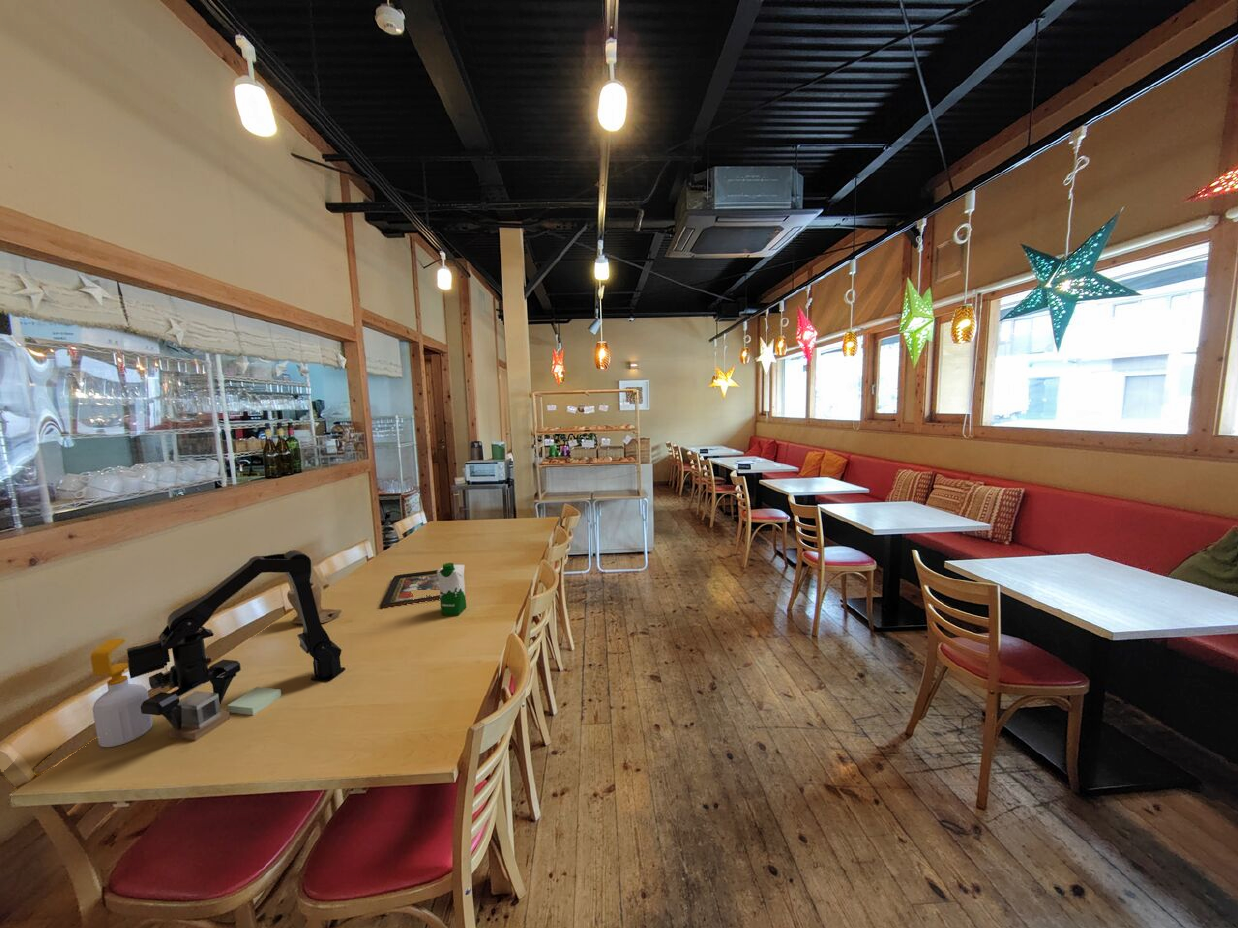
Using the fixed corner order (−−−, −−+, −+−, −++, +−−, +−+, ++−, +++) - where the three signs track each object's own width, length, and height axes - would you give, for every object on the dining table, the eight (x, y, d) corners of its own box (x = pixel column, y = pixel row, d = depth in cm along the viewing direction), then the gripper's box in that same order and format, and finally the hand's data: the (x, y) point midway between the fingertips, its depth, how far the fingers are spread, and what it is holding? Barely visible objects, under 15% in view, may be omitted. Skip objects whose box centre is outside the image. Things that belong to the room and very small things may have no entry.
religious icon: (384, 581, 211) (384, 575, 211) (462, 569, 226) (462, 563, 226) (380, 614, 177) (379, 607, 177) (472, 597, 192) (471, 591, 192)
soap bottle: (163, 721, 116) (148, 632, 113) (125, 747, 107) (109, 651, 104) (127, 723, 116) (112, 633, 113) (87, 749, 107) (69, 652, 104)
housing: (221, 714, 115) (218, 693, 114) (199, 728, 110) (196, 706, 109) (199, 712, 116) (196, 690, 115) (177, 725, 111) (173, 703, 110)
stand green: (281, 695, 125) (280, 689, 125) (253, 715, 117) (252, 708, 117) (257, 693, 127) (256, 686, 126) (228, 712, 119) (227, 705, 119)
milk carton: (438, 616, 172) (434, 566, 170) (449, 606, 181) (445, 558, 179) (459, 616, 171) (456, 566, 169) (469, 606, 180) (466, 558, 178)
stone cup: (282, 628, 166) (277, 589, 164) (308, 613, 178) (304, 577, 176) (319, 629, 164) (314, 590, 162) (343, 615, 176) (339, 578, 174)
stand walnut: (229, 718, 116) (228, 711, 116) (195, 740, 109) (194, 733, 108) (204, 715, 118) (203, 708, 118) (169, 737, 110) (168, 729, 110)
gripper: (204, 637, 122) (212, 690, 123) (117, 678, 103) (127, 739, 105) (238, 640, 120) (245, 694, 121) (155, 682, 101) (165, 745, 103)
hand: (199, 716), depth 113 cm, fingers open, 9 cm apart
